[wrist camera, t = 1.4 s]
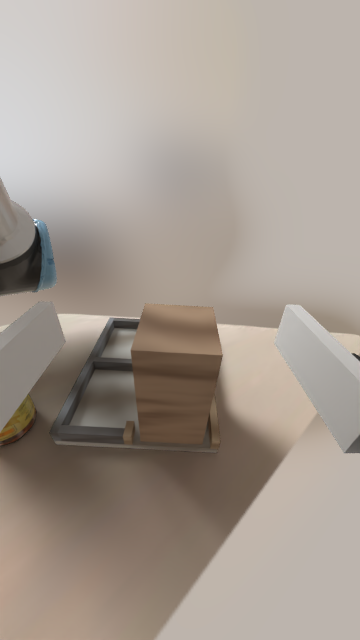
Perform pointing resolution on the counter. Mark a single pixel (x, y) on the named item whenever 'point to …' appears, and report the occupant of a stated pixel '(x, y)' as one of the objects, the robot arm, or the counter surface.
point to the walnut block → (175, 372)
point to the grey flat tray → (114, 400)
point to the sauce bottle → (19, 422)
